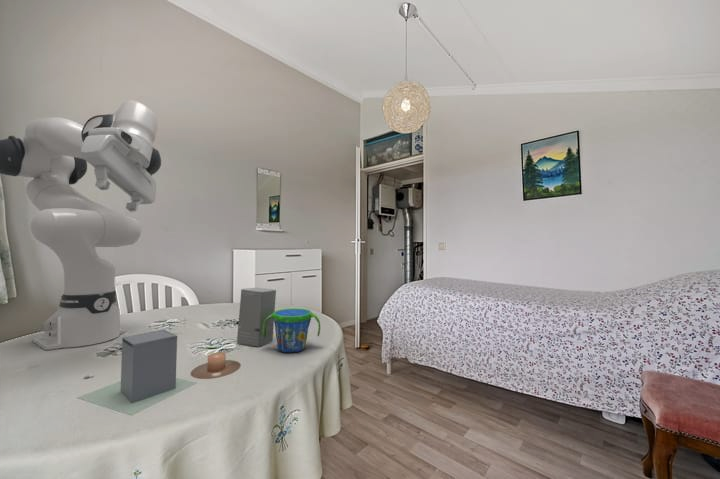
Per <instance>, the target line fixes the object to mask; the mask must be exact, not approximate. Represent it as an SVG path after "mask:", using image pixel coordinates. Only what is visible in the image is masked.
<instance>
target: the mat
mask: <svg viewBox="0 0 720 479" xmlns="http://www.w3.org/2000/svg"><path fill="white" fill-rule="evenodd" d="M196 384H197V382H196V381H191V380H187V379H182V378H179V377H176V389H173V390H170V391H167V392H164V393H161V394H158V395H155V396H152V397H149V398H147V399H144V400H141V401H138V402H135V403H131V402H130V401H129V400H128V399H127V398H126V397H125V396H124V395H123V394H122V393H121V392H120V390H121V380H120V381H116V382H115V383H112V384H109V385H107V386H104V387H101V388H99V389H96V390H94V391H91V392H88V393H86V394H83V395H80V396H77V397H76V399H79V400H82V401H86V402H87V403H91V404H93V405H97V406H100V407H103V408H107V409H110V410H114V411H115V412H116V411H117V412H119V413H122V414H126V415H129V416H134V415H136V414H137V413H140V412H141V411H143V410H145V409H147V408H149V407H151V406H154V405H155V404H158V403H160V402H162V401H164V400H166V399H167V398H169V397H173V396H174V395H177V394H178V393H180V392H181V391H184V390H186V389H188V388H190V387H192V386H194V385H196Z"/></svg>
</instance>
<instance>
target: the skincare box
mask: <svg viewBox="0 0 720 479" xmlns="http://www.w3.org/2000/svg"><path fill="white" fill-rule="evenodd" d="M240 291H241V292H240V302H239V312H238V314H239V315H238V324H237V325H238V326H237V336H236V344H239V345H244V346H245V345H246V346H250V347H251V346H252V347H257V348H260V347H262V346H264V345H267V344H269V343H271V342H270V341H272V340H273V339H274V328H275V323H274V319H273V318H269V319H268V320H267V322H266V338H264V337H263V324H264V322H265V320H266V318H267V317H268V316H270V315H271V314H273V313H274V312H275V309H276V298H277V297H276V295H277V290H276V289H270V288H263V287H248V288H242V289H241V290H240ZM268 342H269V343H268ZM272 342H273V341H272ZM266 343H267V344H266Z"/></svg>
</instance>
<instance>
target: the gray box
mask: <svg viewBox="0 0 720 479" xmlns="http://www.w3.org/2000/svg"><path fill="white" fill-rule="evenodd" d="M177 352H178V335H177V334H175V333H173V332H171V331H168V330H165V329H160V330H155V331H149V332H145V333H140V334H135V335H129V336H124V337H123V336H122V340H121V366H120V367H121V368H120V369H121V370H120V381H121V390H120V392H121V393H122V394H123V395H124V396H125V397H126V398H127V399H128V400H129V401H130V402H131V403H135V402H138V401H141V400H144V399H147V398H149V397H152V396H155V395H158V394H161V393H164V392H167V391H170V390H173V389H176V378H177V361H178V360H177V355H178V354H177Z"/></svg>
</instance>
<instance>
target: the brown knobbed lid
mask: <svg viewBox="0 0 720 479" xmlns="http://www.w3.org/2000/svg"><path fill="white" fill-rule="evenodd" d="M226 355H227V354H226V352H223V351H219V352H212V353H210V354H208V355H207V362H205V363H202V364H200V365H198V366H196V367H194V368H193V369H191V371H190V376H191V377H192V378H195V379H198V380H199V379H201V380H212V379H217V378H222V377H225V376H229V375H231V374H234V373H235V372H237V371H238V370H240V368H241V363H240V362H239V361H236V360H231V359H226Z"/></svg>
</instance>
